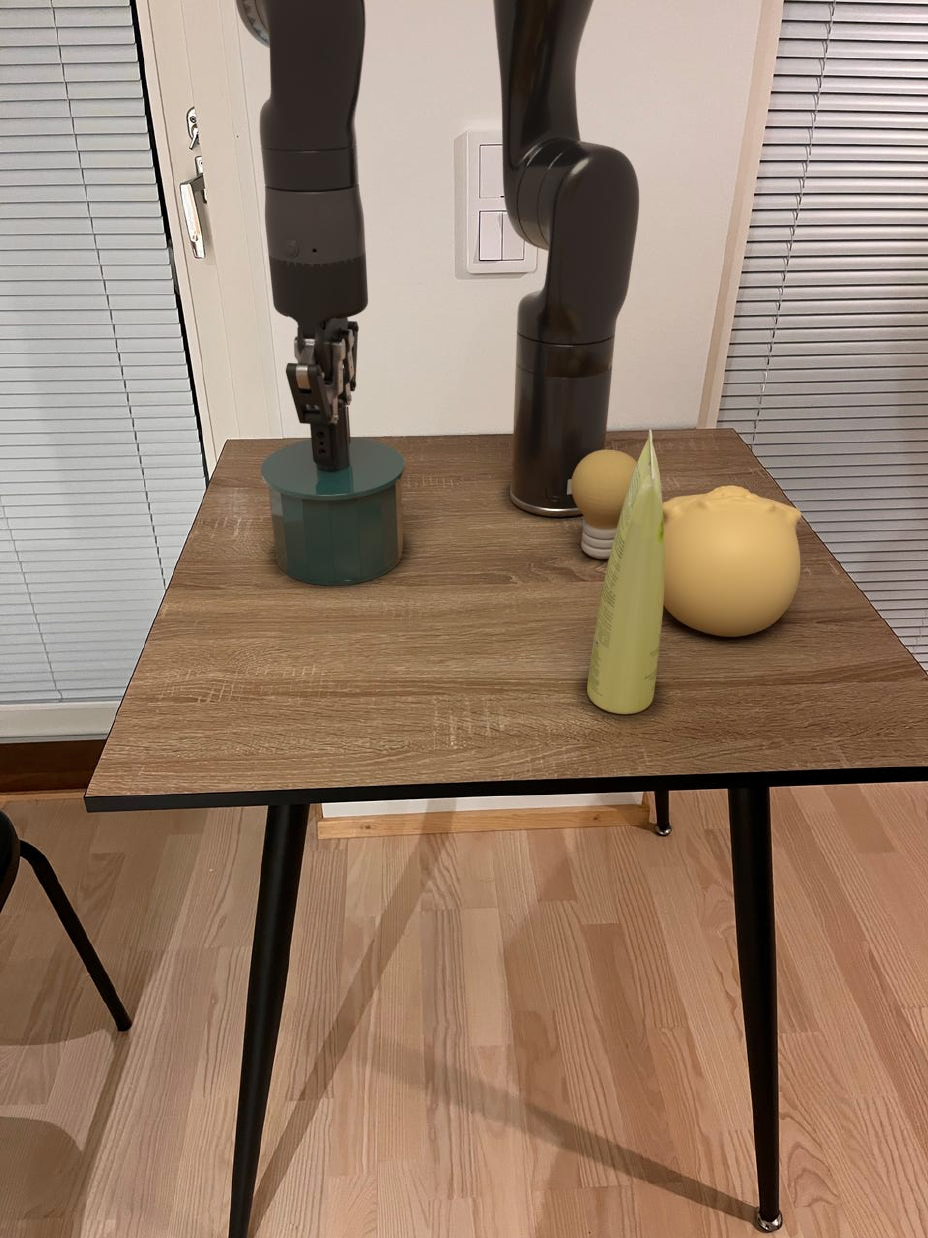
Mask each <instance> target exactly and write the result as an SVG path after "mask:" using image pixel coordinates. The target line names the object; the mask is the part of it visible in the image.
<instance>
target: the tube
mask: <svg viewBox="0 0 928 1238" xmlns="http://www.w3.org/2000/svg"><path fill="white" fill-rule="evenodd" d="M656 453H657V452H656V450H655V446H654V443H653V432H652V429H650V428H649V430H648V437H647V440H646V442H645V444H644V446H643V448H642V450H641V453H640V455H639V457H638V460H637V461H636V462H637V465H636V467H635V470H634V473H633V476H632V479H631V482H630V485H629V488H628V491H627V494H626V498H625V501H624V504H623V508H622V511H621V515H620V518H619V522H618V525H617V529H616V533H615V537H614V541H613V545H612V549H611V553H610V557H609V558H608V561H607V566H606V570H605V575H604V579H603V584H602V589H601V594H600V599H599V606H598V612H597V618H596V624H595V630H594V637H593V642H592V648H591V649H592V650H591V655H590V662H589V670H588V678H587V684H586V685H587V686H586V687H587V688H586V693H587V696H588V698H589V700H590V701H591V702H592V703H593V704H594V705H595V706H596V707H598V708H600V709H602V710H603V711H606V712H608V713H612V714H617V715H629V714H630V715H632V714H637V713H640V712H643V711H644V710H646V709H647V708H649V706H651V704H652V703H653V700H654V696H655V690H656V681H657V674H658V666H659V656H660V647H661V639H662V626H663V615H664V614H663V613H664V604H663V602H664V581H665V546H664V522H663V504H662V503H663V492H662V482H661V474H660V469H659V463H658V458H657V454H656Z"/></svg>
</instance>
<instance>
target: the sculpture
mask: <svg viewBox="0 0 928 1238" xmlns="http://www.w3.org/2000/svg"><path fill="white" fill-rule="evenodd" d="M662 504H663V522H664V546H665V581H664V602H663V607H664V608H665V609H666V610H667V612H668V613H669V614H670V615H671V616H673V618H675V619H676V620H677V621H679V622H680V623H682V624H683V625H685V626H687V627H689V628H692V629H694V630H696V631H699V632H702V633H705V634H709V635H714V636H718V637H729V638H730V637H732V638H735V637H743V636H748V635H752V634H756V633H759V632H760V631H763V630H765V629H767V628H769V627H771V626H773V624H775V623H776V622H777V621H778V620H779V619H780V618H782V616H783V614H785V612H786V611H787V610H788V608H789V607H790V605H791V603H792V602H793V599H794V598H795V595H796V593H797V590H798V586H799V582H800V578H801V564H802V563H801V553H800V551H801V550H800V544H799V540H798V535H797V524H798V523H799V522H800V521H801V518H802V512H801V511H800V510H799V508H796V507H794V506H792V505H791V506H790V505H788V504H785V503H783V502H780V501H777V500H773V499H770V498H766V497H762V496H759V495H757V494H755V493H753V492H752V493H751V492H750V490H749V489H747V488H744V487H742V486H737V485H726V486H725V485H721V486H719V487H715V488H714V489H713V490H711V491H709V492H707V493H701V494H700V493H699V494H692V495H691V494H690V495H681V496H675V497H672V498H670V499H669V500H667V501H664V502H662Z"/></svg>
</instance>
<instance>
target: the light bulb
mask: <svg viewBox="0 0 928 1238" xmlns="http://www.w3.org/2000/svg"><path fill="white" fill-rule="evenodd" d="M637 462H638V461H637V460H636V459H634V458H633V457H632V456H631V455H630V454H627V453H625V452H624V451H623V452H622V451H619V450H616V449H605V450H599V451H595V452H593V453H591V454H589V455H587V456H586V457H585V458H583V459H582V460H581V461H580V463H579V464H578V465H577V467H576V469H575V471H574V473H573V477H572V482H571V490H572V495H573V498H574V501H575V503H576V505H577V506H578V508H579V510H580V511H581V512H582V514H581V515H583V517H584V520H583V521H582V533H581V544H580V545H581V549H582V551H583V552H584V553H585V554H586V555H587V556H589V557H591V558H593V559H599V560H607V559H608V560H609V557H610V553H611V549H612V545H613V541H614V537H615V533H616V529H617V525H618V522H619V518H620V515H621V511H622V508H623V504H624V501H625V498H626V494H627V491H628V488H629V485H630V482H631V479H632V476H633V473H634V470H635V467H636V465H637Z"/></svg>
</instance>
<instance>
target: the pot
mask: <svg viewBox="0 0 928 1238" xmlns="http://www.w3.org/2000/svg"><path fill="white" fill-rule="evenodd" d="M267 491H268V500H269V501H268V502H269V508H270V516H271V524H272V525H271V526H272V534H273V535H272V536H273V543H274V550H275V556H276V557H275V558H276V562H277V565H278V567H279V569H280V570H281V571H282V572H283V573H285V575H287V576H288V577H291V578H292V579H294V580H297V581H300V582H302V583H306V584H310V585H311V584H312V585H316V586H317V585H318V586H329V587H332V586H333V587H335V586H336V587H338V586H339V587H340V586H351V585H356V584H357V585H358V584H361V583H366V582H369V581H372V580H375V579H378V578H380V577H382V576H384V575H386V574H387V573H389V572H391V571H392V570H393V569H394V568H395V567H396V566H398V564H399V563H400V561H401V559H402V557H403V549H404V531H403V530H404V529H403V527H404V526H403V525H404V523H403V497H402V477H401V478H400V479H399V480H398V481H397V482H396V483H395V484H393V485H392V486H390V487H388V488H386V489H384V490H382V491H379V492H377V493H374V494H370V495H367V496H363V497H358V498H352V499H345V500H327V501H322V500H307V499H300V498H295V497H291V496H287V495H284V494H281V493H279V492H277V491H274V490H273V489H271V488H270V487H268V486H267Z"/></svg>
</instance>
